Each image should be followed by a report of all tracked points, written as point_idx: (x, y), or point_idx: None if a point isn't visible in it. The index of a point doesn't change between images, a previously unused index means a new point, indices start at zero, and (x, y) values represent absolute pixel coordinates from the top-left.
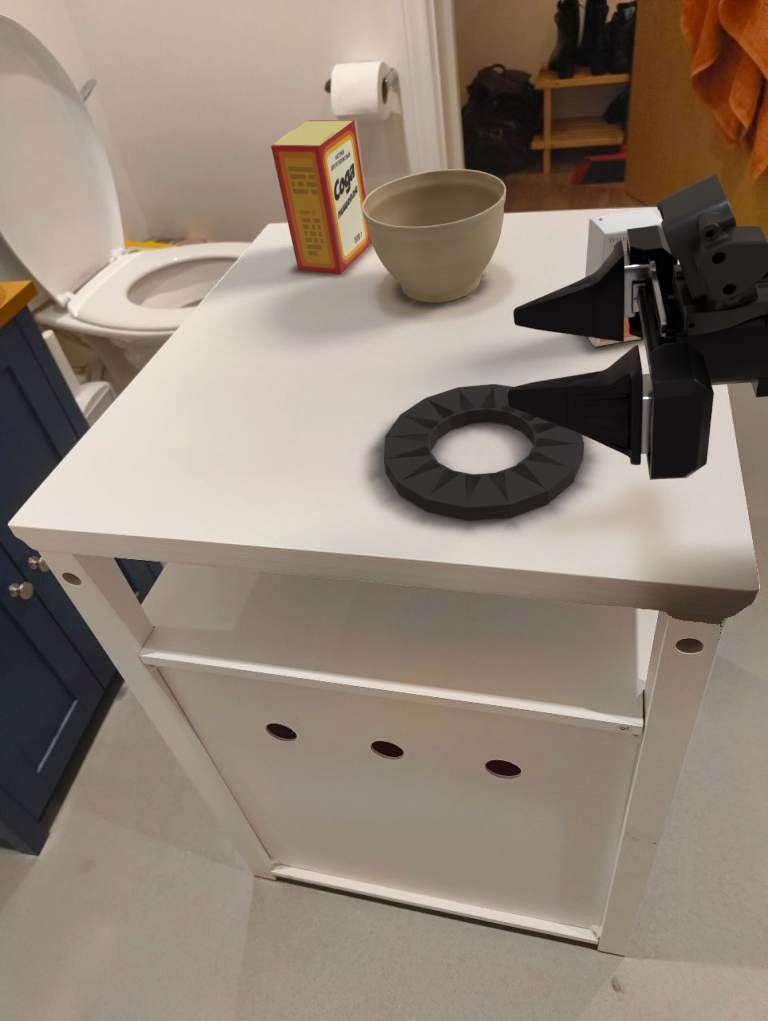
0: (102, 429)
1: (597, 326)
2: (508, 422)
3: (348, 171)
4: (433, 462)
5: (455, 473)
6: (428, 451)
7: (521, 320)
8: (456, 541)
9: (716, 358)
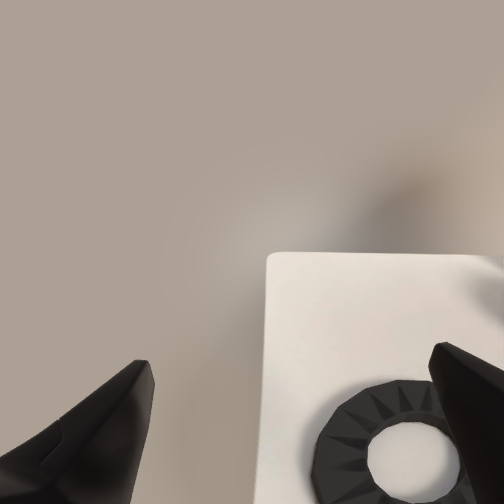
0: (346, 253)
1: (491, 498)
2: (462, 467)
3: None
4: (374, 426)
5: (363, 448)
6: (388, 417)
7: (435, 368)
8: (281, 472)
9: None
